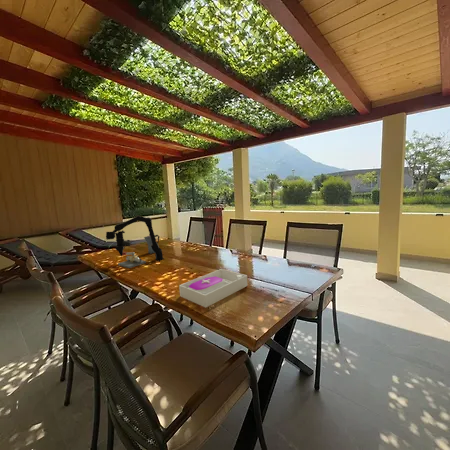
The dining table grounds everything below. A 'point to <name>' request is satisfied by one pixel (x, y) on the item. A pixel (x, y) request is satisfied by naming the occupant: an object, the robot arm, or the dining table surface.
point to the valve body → (133, 259)
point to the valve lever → (128, 253)
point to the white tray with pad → (213, 287)
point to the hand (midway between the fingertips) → (121, 255)
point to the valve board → (130, 264)
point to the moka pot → (150, 243)
